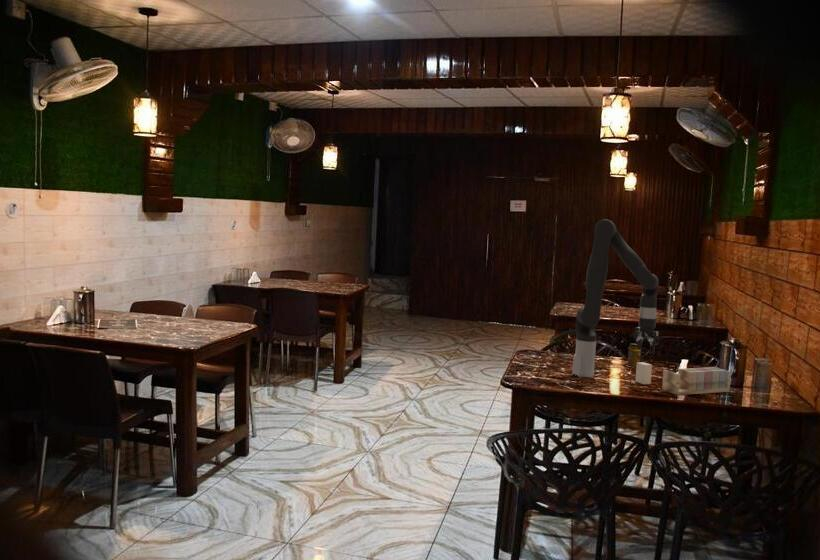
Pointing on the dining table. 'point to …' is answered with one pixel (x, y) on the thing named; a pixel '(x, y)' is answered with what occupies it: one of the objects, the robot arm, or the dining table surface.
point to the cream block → (643, 373)
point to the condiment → (633, 355)
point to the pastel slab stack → (696, 381)
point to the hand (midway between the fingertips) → (645, 351)
